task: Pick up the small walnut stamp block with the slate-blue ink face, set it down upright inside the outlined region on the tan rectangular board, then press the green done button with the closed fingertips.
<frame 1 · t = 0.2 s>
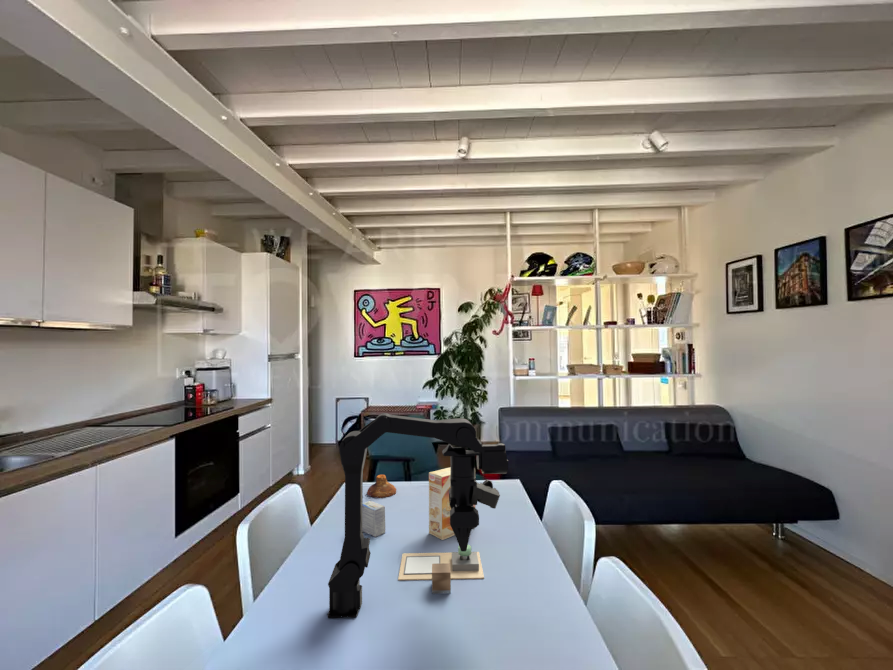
hand: (462, 541, 101), 14 cm above the table, tool pointing down, fingers open, 9 cm apart
stamp block: (441, 588, 107), on the table
medicine box: (372, 532, 140), on the table
coffeecake box: (452, 531, 141), on the table
tan rectangular board: (441, 565, 118), on the table
done button: (464, 553, 118), point 3 cm above the table, slide at 0.0 cm
button housing: (464, 565, 118), resting on tan rectangular board
bell: (381, 494, 178), on the table
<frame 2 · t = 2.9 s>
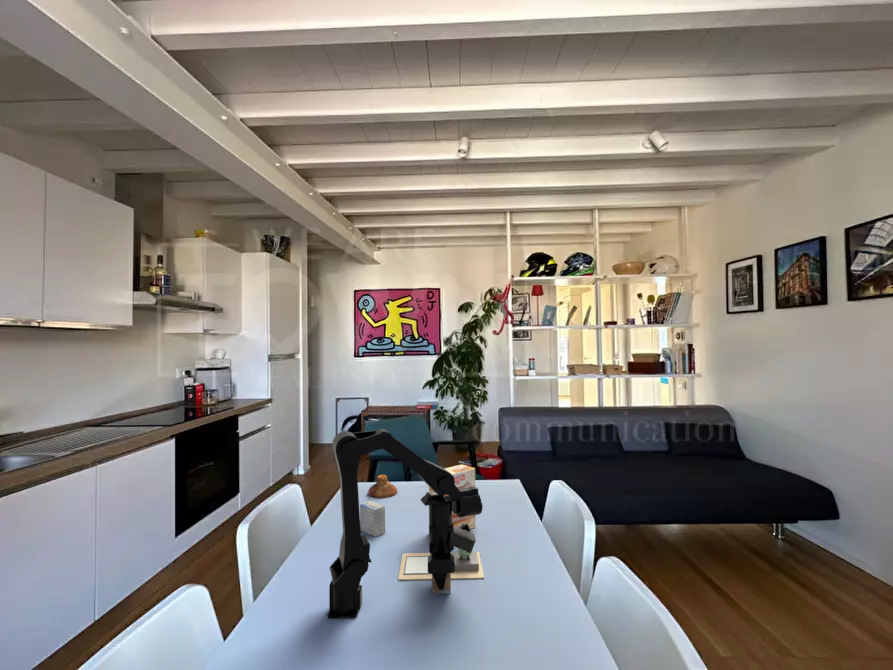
hand: (441, 583, 107), 1 cm above the table, tool pointing down, fingers closed on stamp block, 4 cm apart
stamp block: (441, 588, 107), on the table, touching gripper
everything else where it was.
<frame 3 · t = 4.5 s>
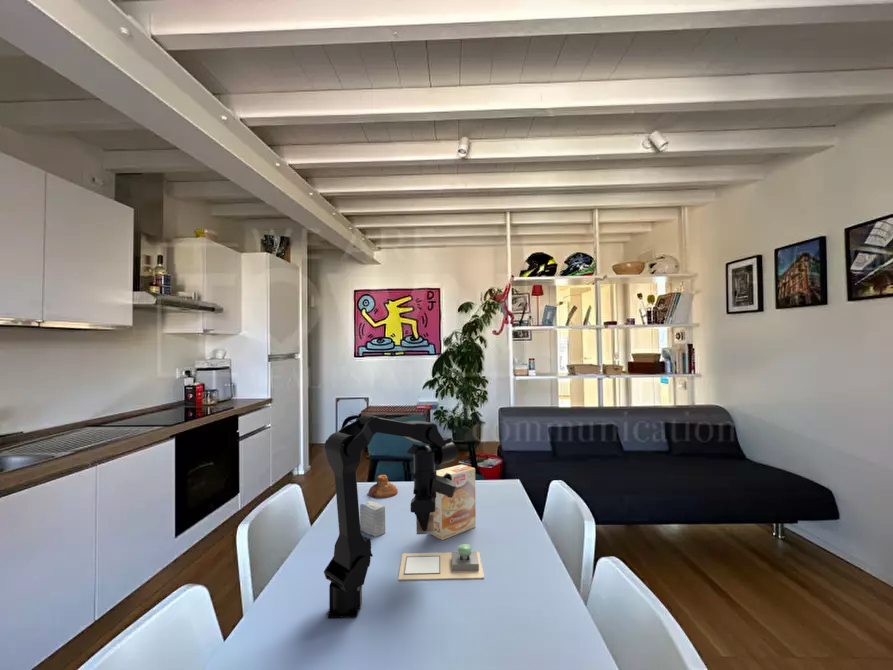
hand: (425, 526, 117), 11 cm above the table, tool pointing down, fingers closed on stamp block, 4 cm apart
stamp block: (425, 530, 117), point 10 cm above the table, touching gripper
everything else where it was.
when the fingers open (2 cm above the table, at t = 6.6 s): stamp block stays where it is, resting on tan rectangular board.
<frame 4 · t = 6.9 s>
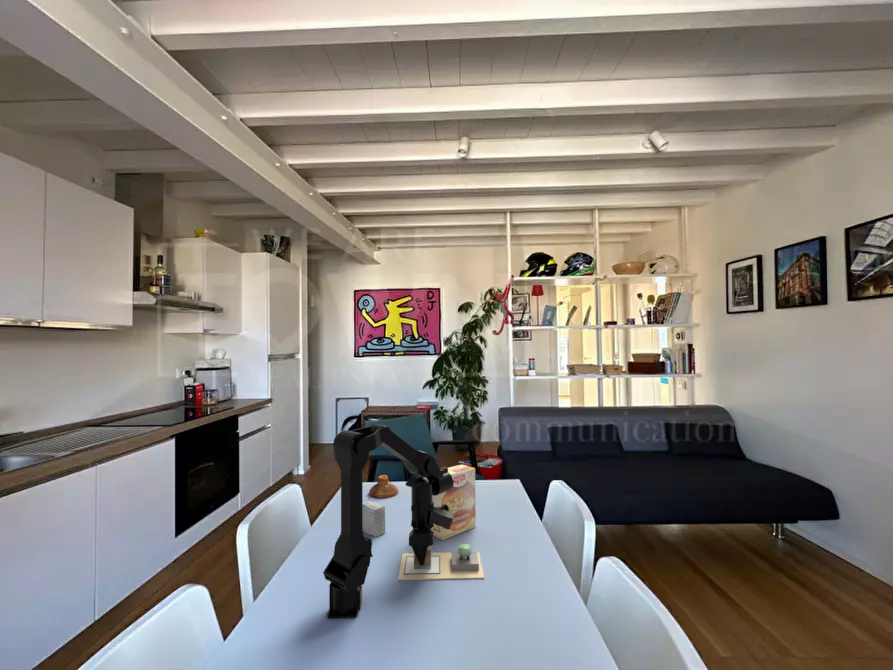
hand: (422, 558, 118), 2 cm above the table, tool pointing down, fingers open, 7 cm apart
stamp block: (422, 564, 118), resting on tan rectangular board
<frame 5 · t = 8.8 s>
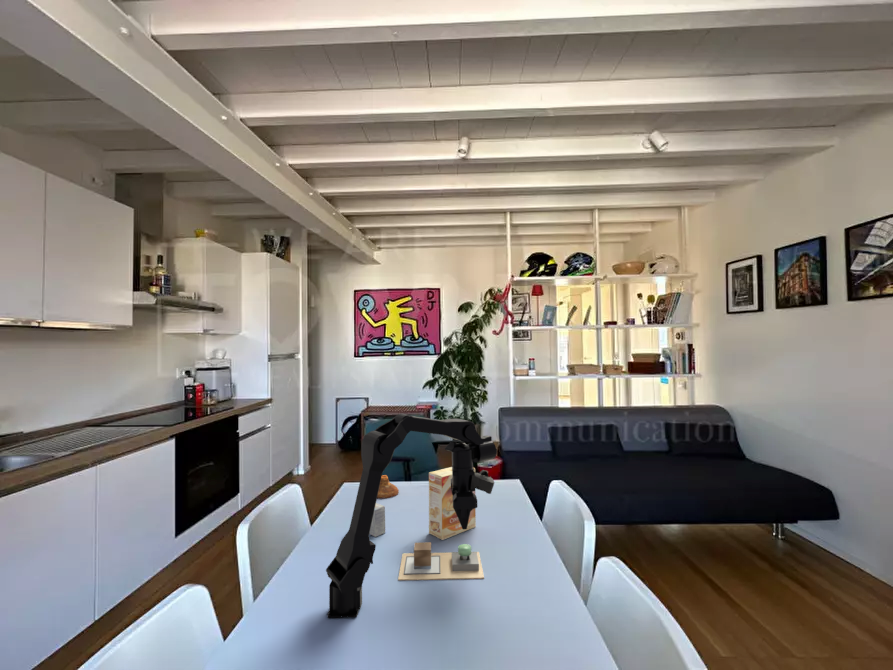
hand: (463, 522, 118), 11 cm above the table, tool pointing down, fingers open, 8 cm apart
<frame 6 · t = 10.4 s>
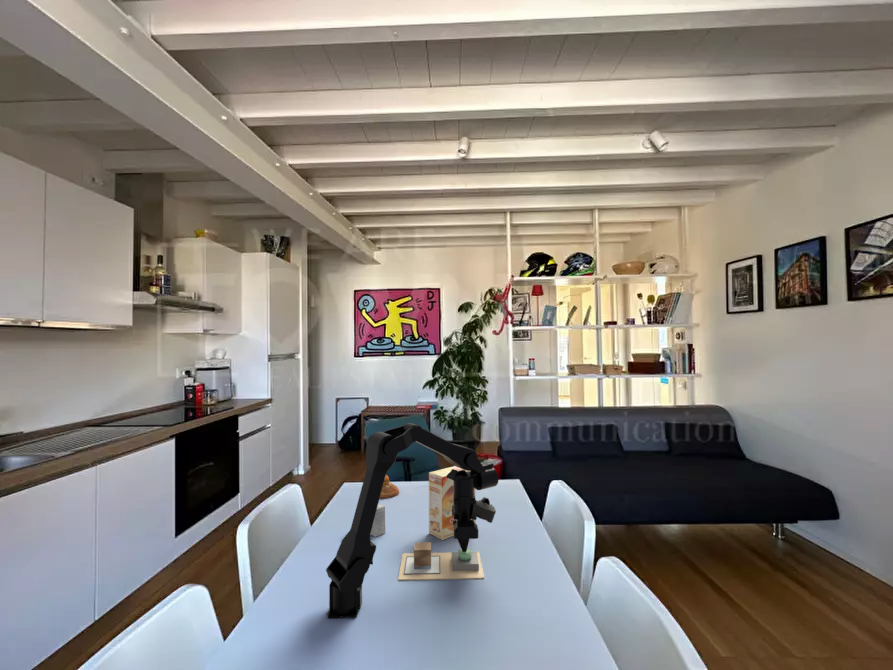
hand: (464, 551, 118), 4 cm above the table, tool pointing down, fingers closed, pressing on done button
done button: (464, 557, 118), point 2 cm above the table, slide at 1.1 cm, touching gripper
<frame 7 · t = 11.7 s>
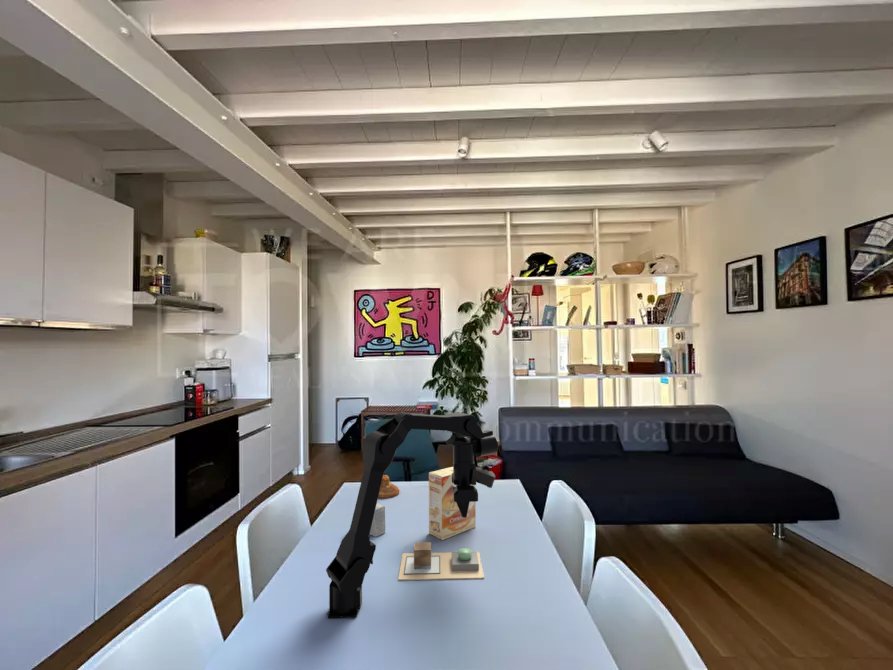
hand: (464, 516, 118), 13 cm above the table, tool pointing down, fingers closed
done button: (464, 557, 118), point 2 cm above the table, slide at 1.1 cm, touching tan rectangular board
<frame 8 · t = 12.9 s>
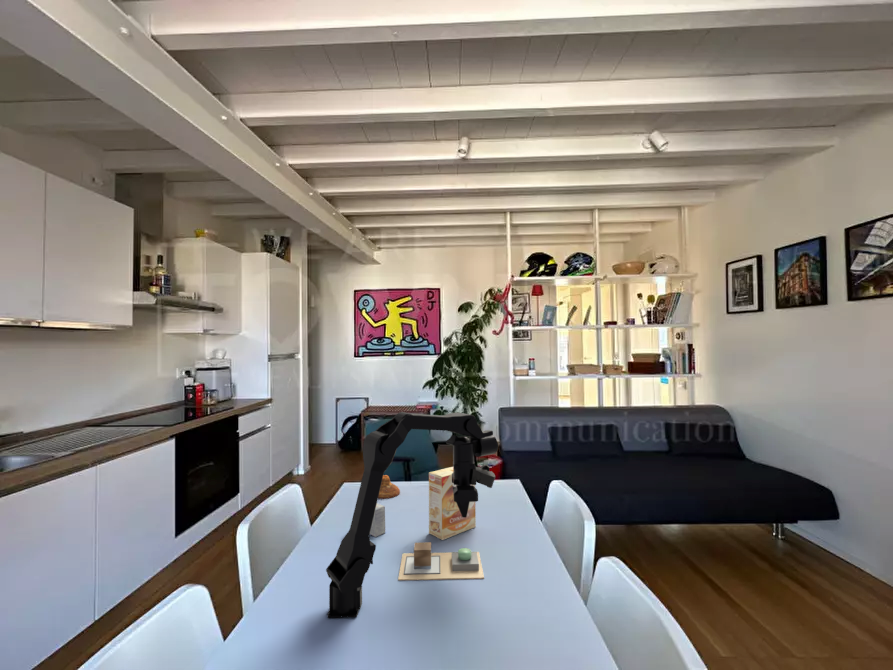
hand: (464, 516, 118), 13 cm above the table, tool pointing down, fingers closed
at the end: stamp block inside the target area (0.1 cm from its centre), resting on tan rectangular board; stamp block tilted 0°; done button slide at 1.1 cm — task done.
